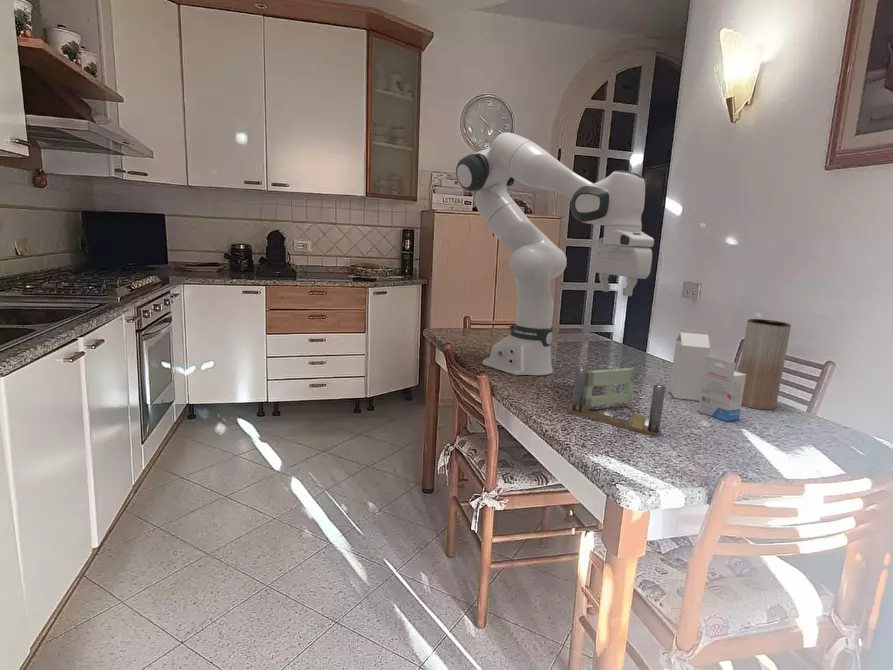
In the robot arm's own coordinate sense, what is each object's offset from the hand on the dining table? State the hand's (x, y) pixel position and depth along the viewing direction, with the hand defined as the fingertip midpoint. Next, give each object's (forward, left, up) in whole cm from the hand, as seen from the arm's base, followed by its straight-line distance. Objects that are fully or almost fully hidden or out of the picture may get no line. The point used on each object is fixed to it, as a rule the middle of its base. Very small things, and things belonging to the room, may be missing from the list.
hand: (615, 293), depth 138 cm
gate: (+4, -6, -27) cm, 28 cm away
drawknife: (+9, -15, -28) cm, 33 cm away
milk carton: (+15, +22, -29) cm, 39 cm away
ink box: (+26, +11, -29) cm, 40 cm away
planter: (+31, +30, -29) cm, 52 cm away
